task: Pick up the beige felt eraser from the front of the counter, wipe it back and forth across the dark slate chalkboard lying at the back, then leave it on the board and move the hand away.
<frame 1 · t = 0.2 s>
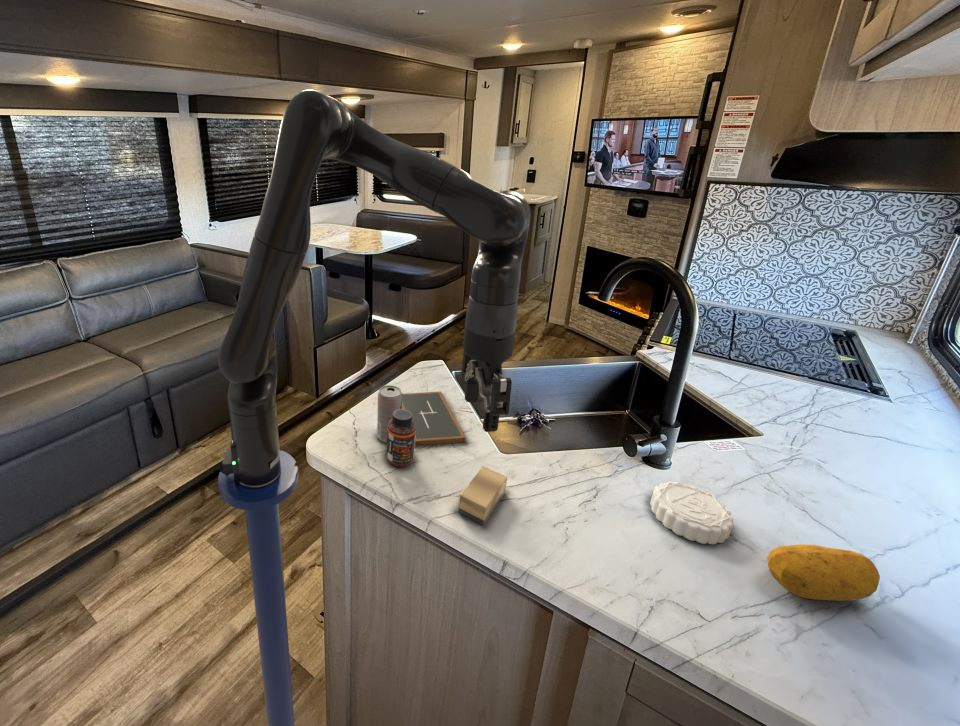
hand: (480, 414, 76), 22 cm above the worktop, tool pointing down, fingers open, 8 cm apart
eraser: (482, 502, 87), on the worktop
mooncake: (687, 518, 84), on the worktop
chalkboard: (428, 418, 112), on the worktop
supplement bottle: (399, 459, 98), on the worktop
potato: (811, 590, 71), on the worktop
energy drink: (388, 437, 106), on the worktop
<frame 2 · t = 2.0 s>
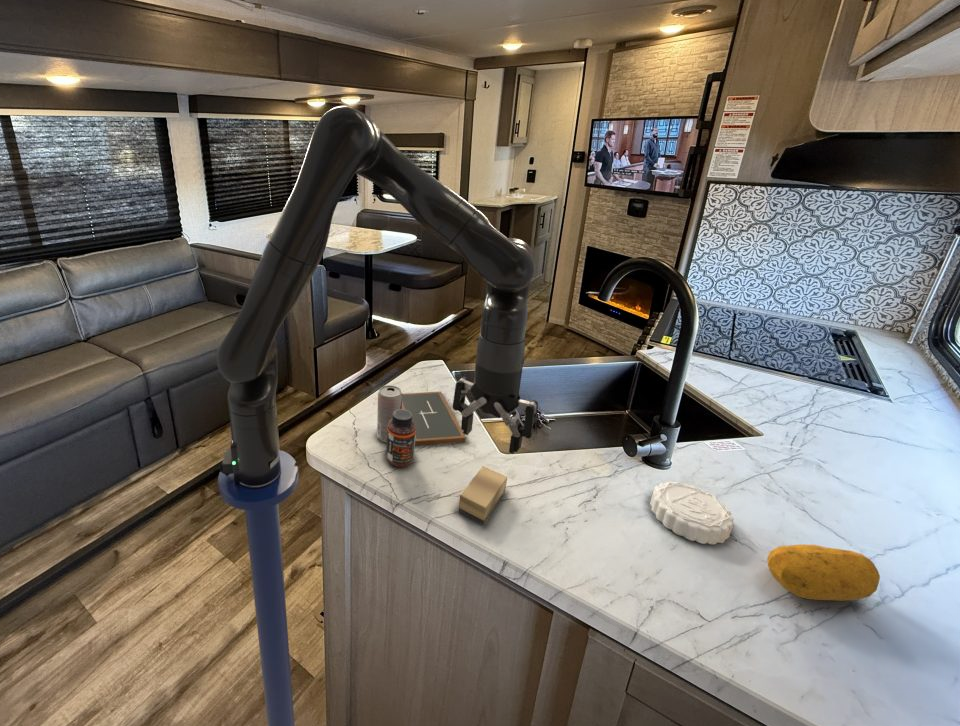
hand: (489, 441, 82), 14 cm above the worktop, tool pointing down, fingers open, 8 cm apart
nothing on the worktop moved.
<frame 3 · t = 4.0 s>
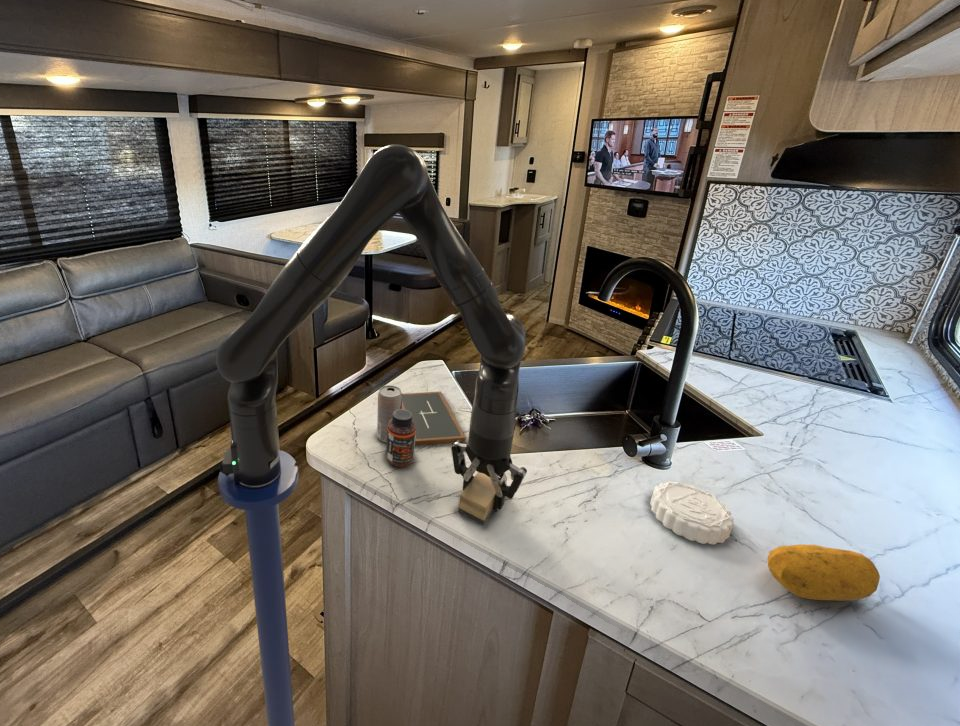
hand: (482, 500, 87), 0 cm above the worktop, tool pointing down, fingers closed on eraser, 5 cm apart
eraser: (482, 502, 87), on the worktop, touching gripper
everything else where it was.
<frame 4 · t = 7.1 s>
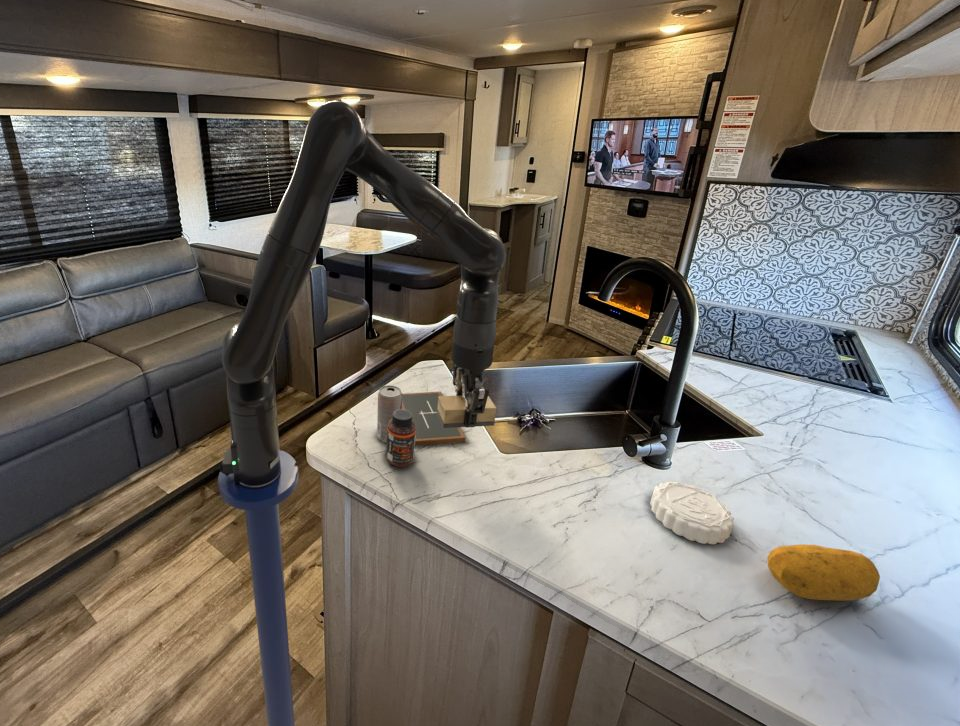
hand: (465, 417, 90), 13 cm above the worktop, tool pointing down, fingers closed on eraser, 5 cm apart
eraser: (464, 419, 90), point 13 cm above the worktop, touching gripper
everything else where it was.
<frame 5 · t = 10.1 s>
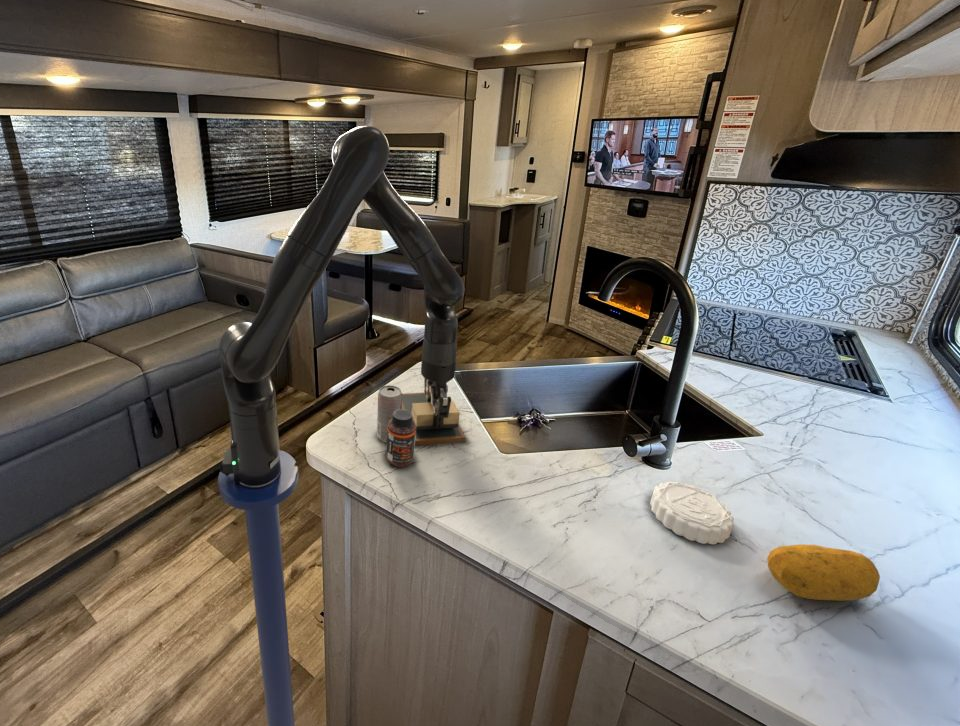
hand: (434, 420, 107), 2 cm above the worktop, tool pointing down, fingers closed on eraser, 5 cm apart
eraser: (434, 422, 108), point 2 cm above the worktop, touching gripper
everything else where it was.
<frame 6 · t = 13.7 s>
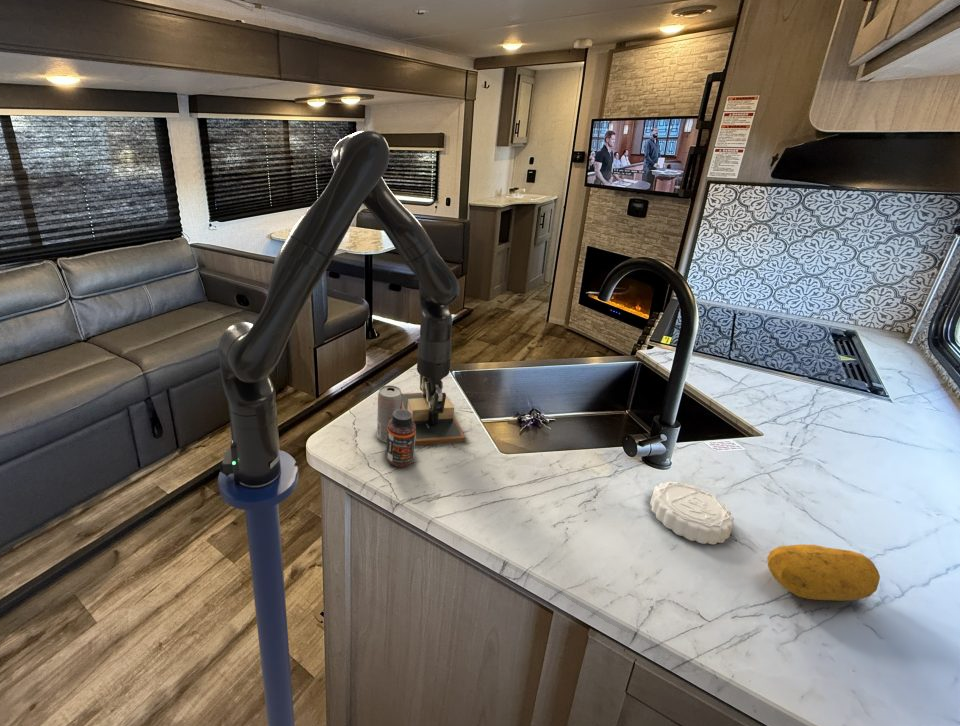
hand: (429, 416, 111), 1 cm above the worktop, tool pointing down, fingers closed on eraser, 5 cm apart
eraser: (429, 417, 111), point 1 cm above the worktop, touching gripper
everything else where it was.
when the fingers open (1 cm above the worktop, at t = 16.5 s): eraser stays where it is, resting on chalkboard.
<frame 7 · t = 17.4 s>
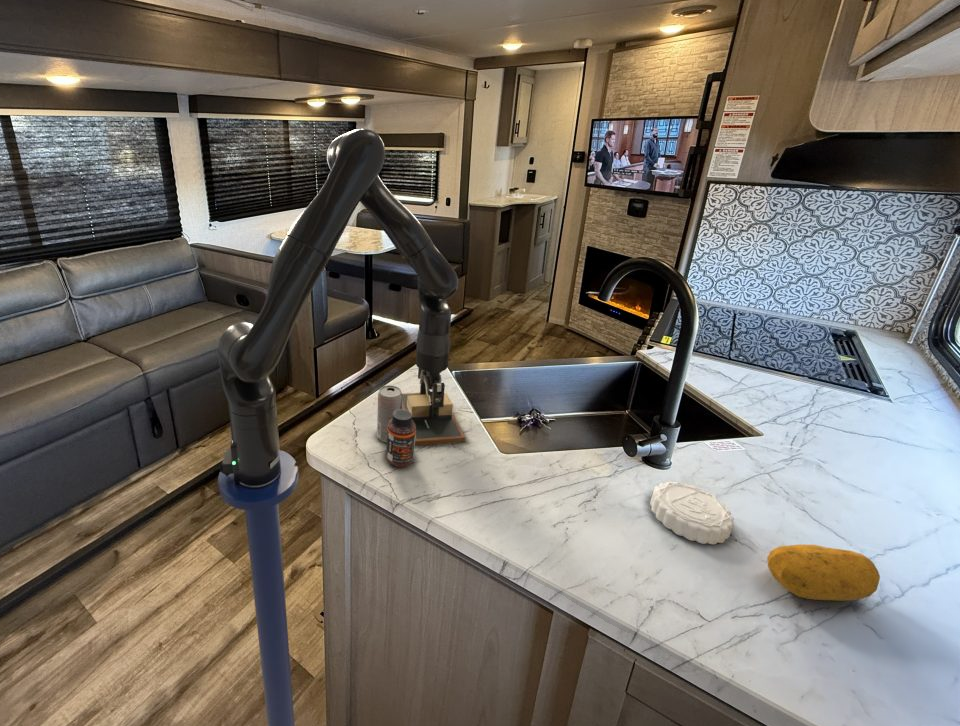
hand: (428, 407, 111), 3 cm above the worktop, tool pointing down, fingers open, 8 cm apart
eraser: (428, 413, 112), point 1 cm above the worktop, touching chalkboard
everything else where it was.
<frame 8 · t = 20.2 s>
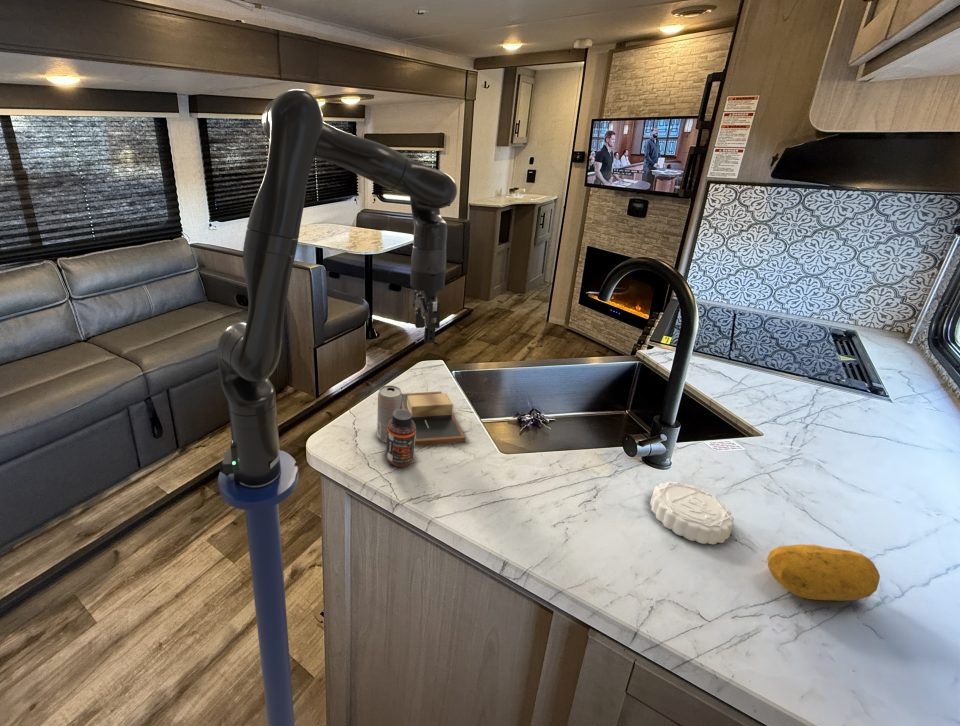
hand: (424, 334, 105), 22 cm above the worktop, tool pointing down, fingers open, 8 cm apart
nothing on the worktop moved.
at the end: eraser inside the target area on the chalkboard (0.1 cm from its centre), point 1.2 cm above the chalkboard's base; the gripper is holding nothing; eraser moved 28.3 cm from its start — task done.
